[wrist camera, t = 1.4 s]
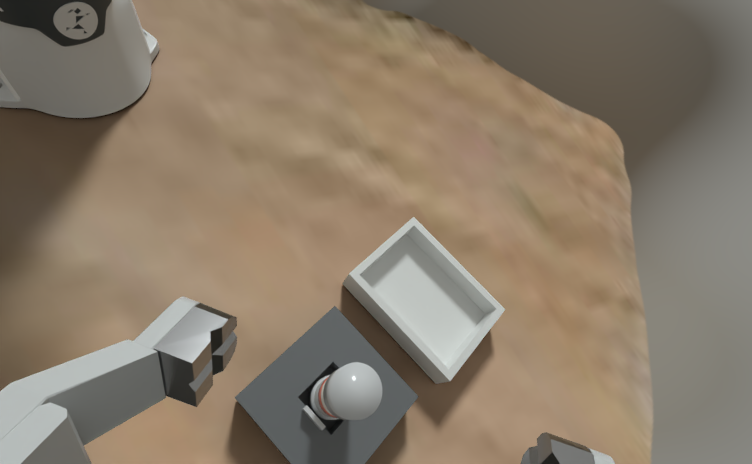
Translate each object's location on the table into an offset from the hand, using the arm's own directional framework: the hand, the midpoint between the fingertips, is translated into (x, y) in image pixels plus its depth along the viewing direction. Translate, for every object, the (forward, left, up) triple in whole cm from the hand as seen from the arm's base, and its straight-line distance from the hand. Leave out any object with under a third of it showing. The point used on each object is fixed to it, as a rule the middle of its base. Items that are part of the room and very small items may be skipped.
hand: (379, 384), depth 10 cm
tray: (+2, +19, -32) cm, 37 cm away
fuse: (+2, +4, -31) cm, 31 cm away
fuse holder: (+2, +4, -32) cm, 32 cm away
